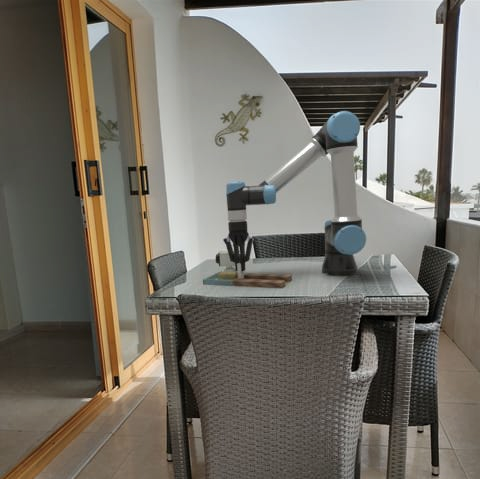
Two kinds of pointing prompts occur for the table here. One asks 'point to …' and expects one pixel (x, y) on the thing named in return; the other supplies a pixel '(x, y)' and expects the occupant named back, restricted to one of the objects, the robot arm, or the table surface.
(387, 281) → the table surface
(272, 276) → the slot board
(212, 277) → the tray
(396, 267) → the table surface
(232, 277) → the chip
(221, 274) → the chip
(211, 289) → the table surface
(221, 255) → the pneumatic valve
